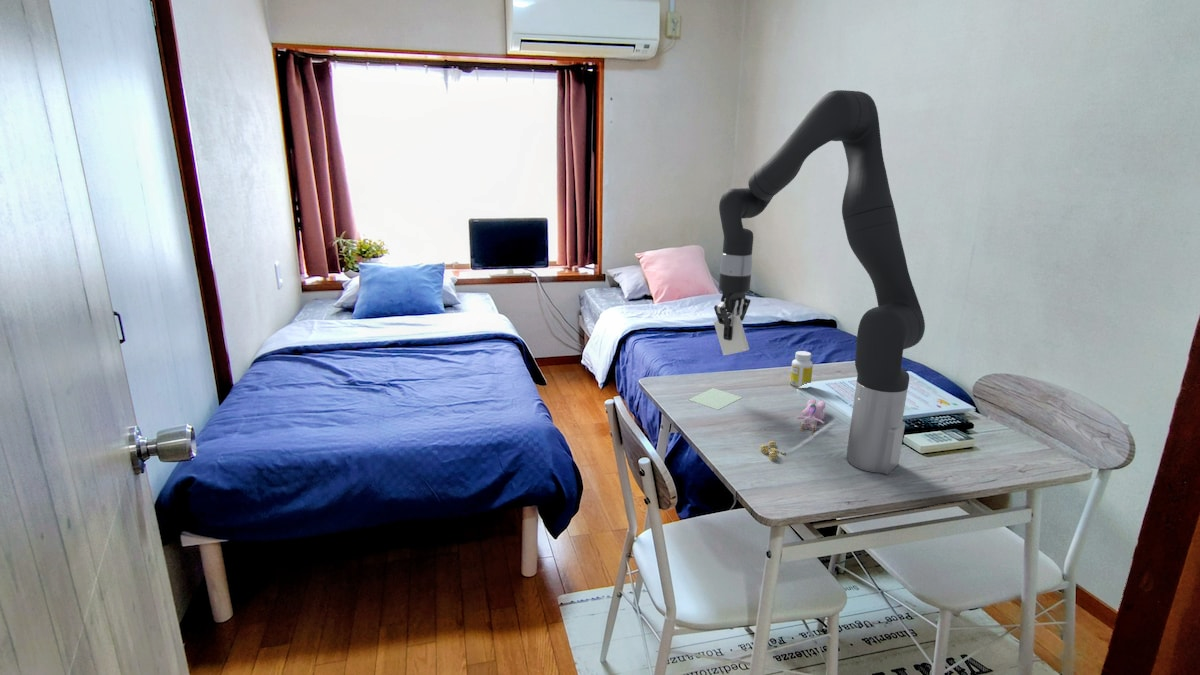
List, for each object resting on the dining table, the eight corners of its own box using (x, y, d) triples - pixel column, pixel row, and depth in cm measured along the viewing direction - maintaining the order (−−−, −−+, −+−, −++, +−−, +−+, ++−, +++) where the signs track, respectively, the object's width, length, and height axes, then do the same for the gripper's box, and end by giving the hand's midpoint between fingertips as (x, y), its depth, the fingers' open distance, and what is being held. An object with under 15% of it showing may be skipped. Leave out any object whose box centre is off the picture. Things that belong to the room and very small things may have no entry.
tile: (749, 349, 150) (739, 314, 150) (746, 350, 149) (735, 316, 149) (726, 354, 155) (717, 320, 155) (723, 355, 154) (713, 322, 154)
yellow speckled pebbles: (772, 463, 124) (773, 455, 123) (754, 453, 128) (755, 445, 127) (789, 458, 126) (790, 449, 126) (772, 448, 130) (772, 440, 130)
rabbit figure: (820, 442, 135) (830, 408, 147) (822, 420, 132) (833, 387, 144) (792, 436, 138) (804, 404, 150) (793, 414, 135) (806, 383, 147)
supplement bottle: (811, 385, 165) (815, 351, 162) (809, 392, 160) (813, 357, 157) (790, 382, 167) (794, 349, 164) (788, 389, 162) (791, 354, 159)
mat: (777, 402, 153) (777, 400, 153) (744, 421, 142) (744, 418, 142) (718, 384, 165) (718, 382, 165) (682, 400, 154) (683, 398, 154)
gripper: (733, 278, 140) (727, 348, 145) (763, 270, 149) (756, 336, 155) (706, 273, 145) (701, 341, 150) (737, 266, 154) (731, 330, 160)
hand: (729, 338), depth 153 cm, fingers closed on tile, 1 cm apart
